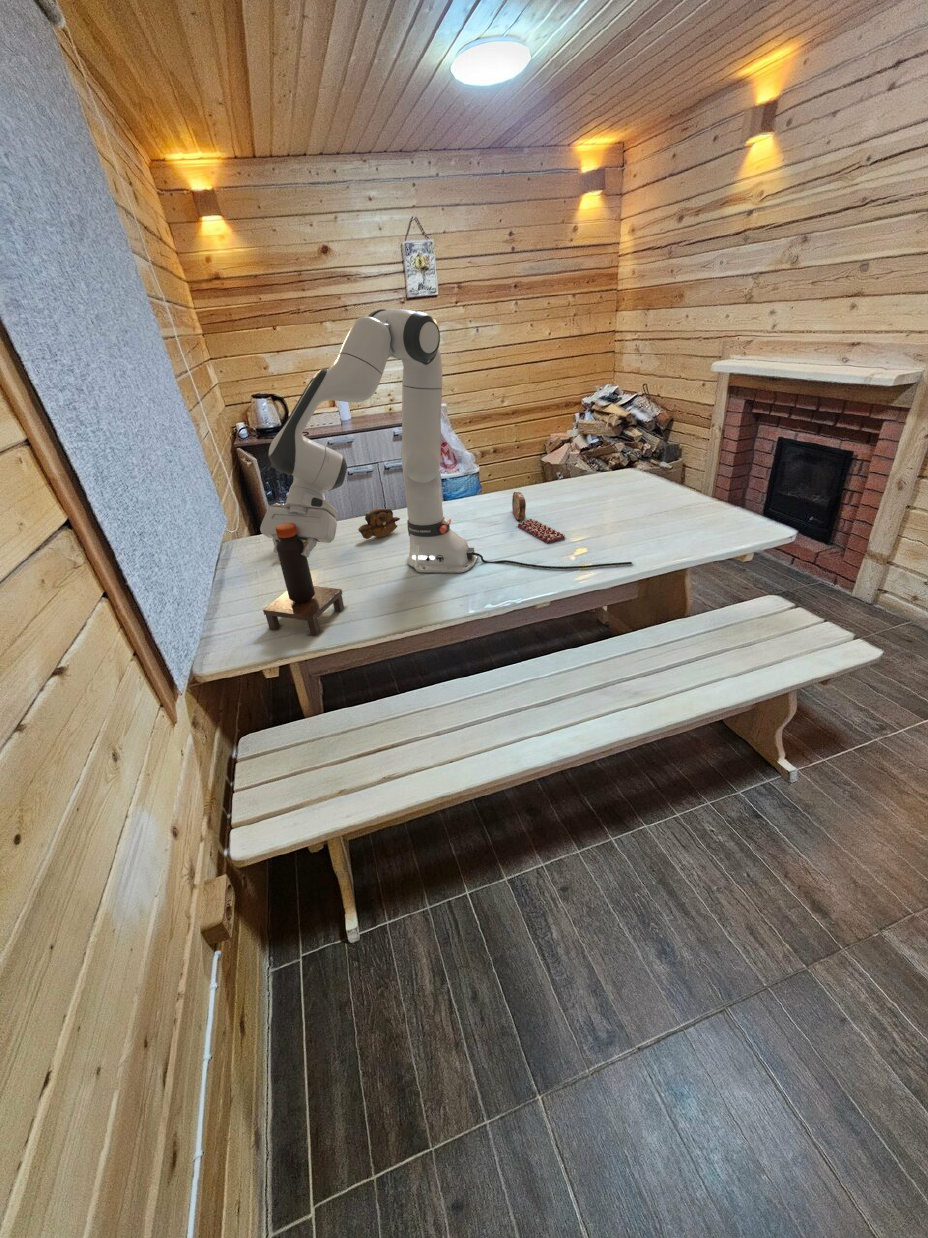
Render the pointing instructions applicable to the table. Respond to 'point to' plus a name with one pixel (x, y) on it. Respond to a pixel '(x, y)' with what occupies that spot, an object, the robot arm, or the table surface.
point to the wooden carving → (378, 523)
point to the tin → (518, 505)
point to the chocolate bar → (541, 531)
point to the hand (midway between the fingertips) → (290, 555)
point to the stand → (304, 608)
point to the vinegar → (294, 563)
